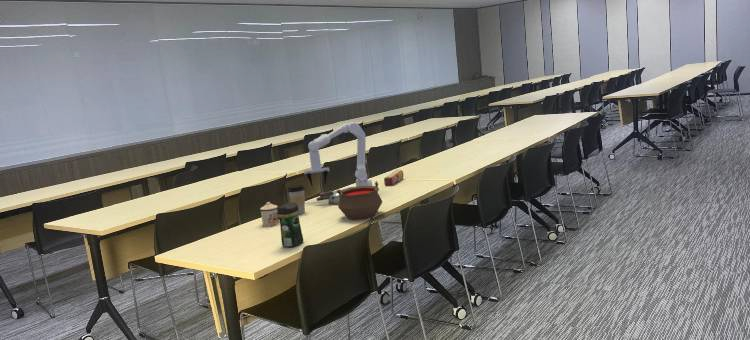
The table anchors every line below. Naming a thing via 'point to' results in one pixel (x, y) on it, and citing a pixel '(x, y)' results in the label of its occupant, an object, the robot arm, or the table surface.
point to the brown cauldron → (359, 202)
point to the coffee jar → (290, 225)
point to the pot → (330, 200)
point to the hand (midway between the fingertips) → (318, 184)
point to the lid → (329, 194)
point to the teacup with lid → (269, 215)
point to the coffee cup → (297, 197)
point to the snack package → (393, 178)
